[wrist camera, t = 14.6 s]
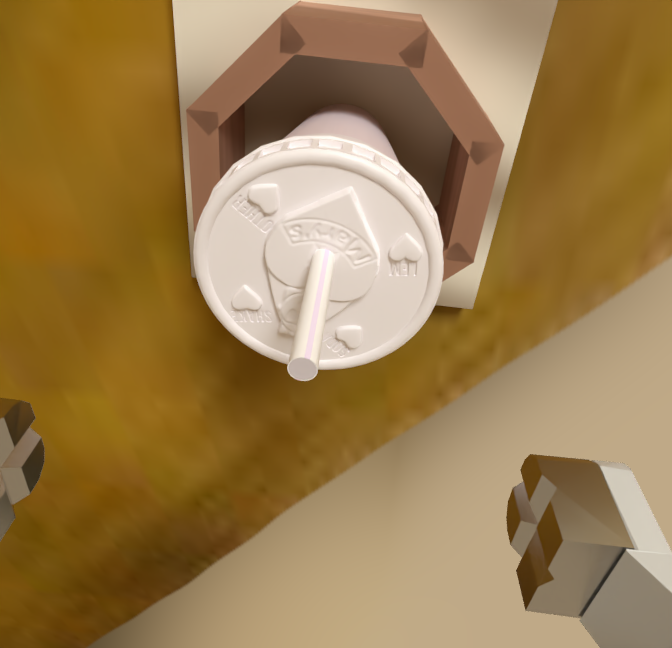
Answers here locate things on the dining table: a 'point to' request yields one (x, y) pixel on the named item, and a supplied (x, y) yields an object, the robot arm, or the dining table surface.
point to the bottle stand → (369, 96)
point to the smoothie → (321, 246)
